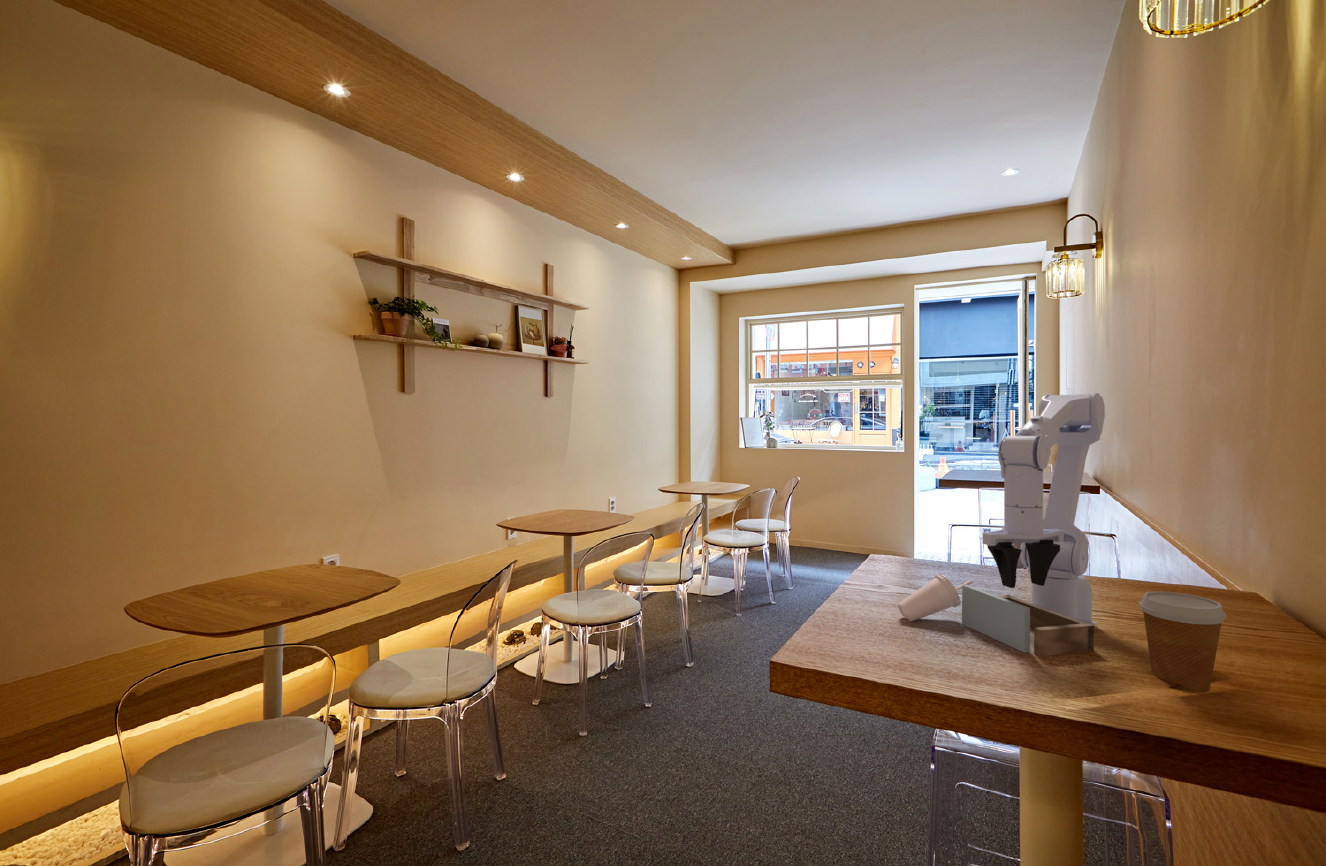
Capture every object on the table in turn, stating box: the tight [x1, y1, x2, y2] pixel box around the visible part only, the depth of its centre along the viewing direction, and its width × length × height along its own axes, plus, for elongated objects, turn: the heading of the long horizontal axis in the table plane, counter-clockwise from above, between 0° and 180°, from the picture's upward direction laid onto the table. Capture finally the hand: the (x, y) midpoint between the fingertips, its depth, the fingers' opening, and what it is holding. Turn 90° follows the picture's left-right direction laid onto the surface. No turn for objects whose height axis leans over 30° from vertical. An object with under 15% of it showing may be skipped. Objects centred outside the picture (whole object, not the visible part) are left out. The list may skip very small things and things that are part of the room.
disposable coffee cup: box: [1138, 591, 1227, 694], centre depth 88 cm, size 10×10×12 cm
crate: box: [998, 594, 1095, 657], centre depth 106 cm, size 10×18×5 cm, turn 12°
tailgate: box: [961, 584, 1031, 654], centre depth 105 cm, size 1×14×7 cm, turn 12°
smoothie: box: [897, 573, 974, 622], centre depth 115 cm, size 6×6×14 cm
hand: (1023, 585), depth 106 cm, fingers open, 5 cm apart
